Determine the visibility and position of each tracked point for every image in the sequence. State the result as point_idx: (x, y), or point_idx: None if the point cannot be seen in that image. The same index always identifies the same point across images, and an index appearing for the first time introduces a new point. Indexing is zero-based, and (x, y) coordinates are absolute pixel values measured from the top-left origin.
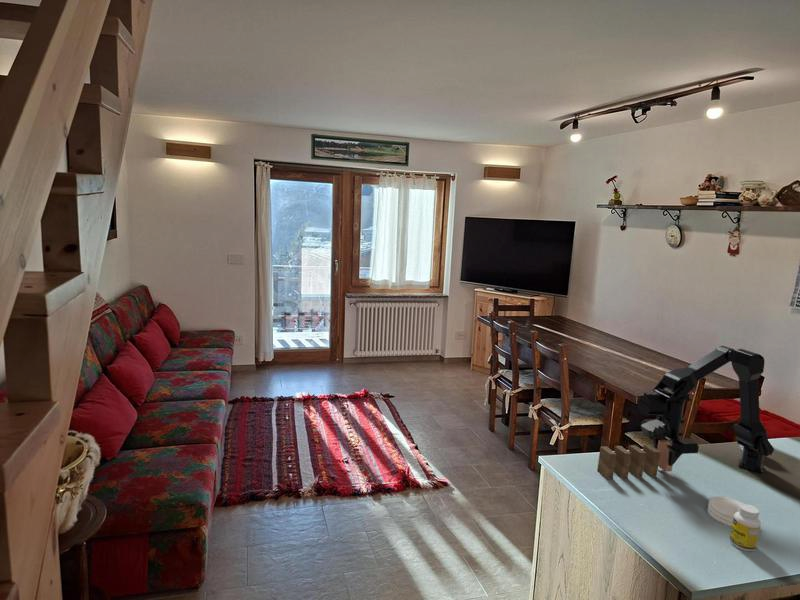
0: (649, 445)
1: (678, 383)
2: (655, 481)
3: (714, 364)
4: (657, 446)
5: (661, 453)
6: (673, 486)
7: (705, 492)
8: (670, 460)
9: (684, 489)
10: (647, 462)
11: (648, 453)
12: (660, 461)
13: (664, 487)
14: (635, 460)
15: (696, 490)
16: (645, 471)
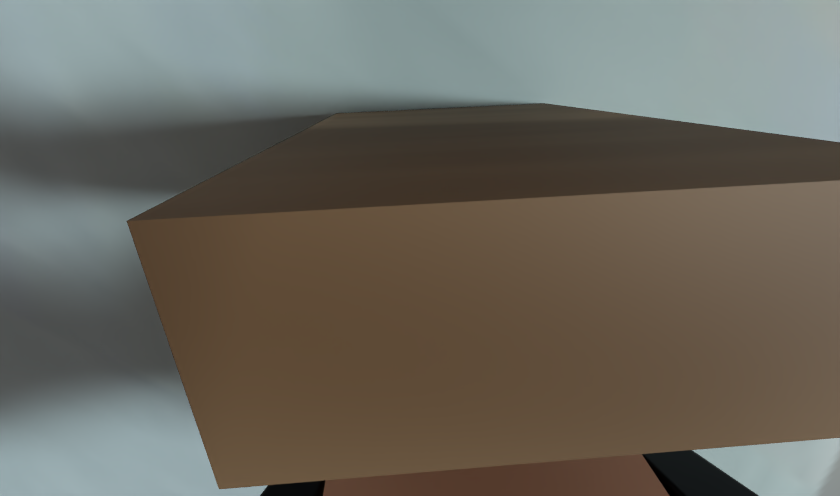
0: (833, 398)
1: None
2: (216, 97)
3: None
4: None
5: (516, 482)
6: (126, 249)
7: (75, 462)
8: (268, 487)
9: (84, 323)
10: (451, 122)
11: (506, 146)
12: None
13: (70, 120)
14: None
15: (94, 415)
16: (445, 110)
